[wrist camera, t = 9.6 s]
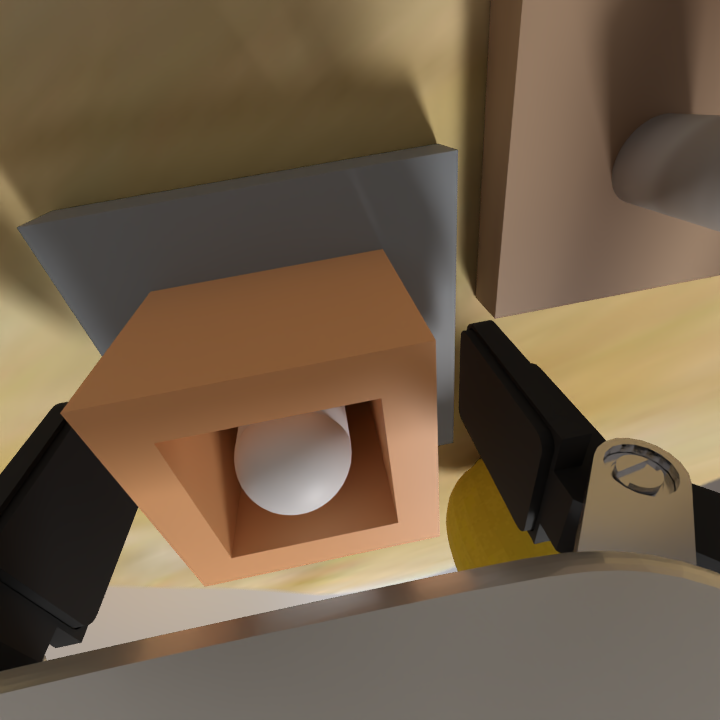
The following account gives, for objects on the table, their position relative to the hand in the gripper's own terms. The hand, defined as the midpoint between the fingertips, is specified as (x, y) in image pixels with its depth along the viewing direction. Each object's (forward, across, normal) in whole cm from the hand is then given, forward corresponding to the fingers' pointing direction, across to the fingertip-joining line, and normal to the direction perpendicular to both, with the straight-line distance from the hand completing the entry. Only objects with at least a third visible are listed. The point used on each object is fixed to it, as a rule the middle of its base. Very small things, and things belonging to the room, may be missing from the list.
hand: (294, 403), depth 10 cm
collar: (+2, 0, 0) cm, 2 cm away
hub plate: (+3, 0, 0) cm, 3 cm away
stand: (+3, -10, -4) cm, 11 cm away
